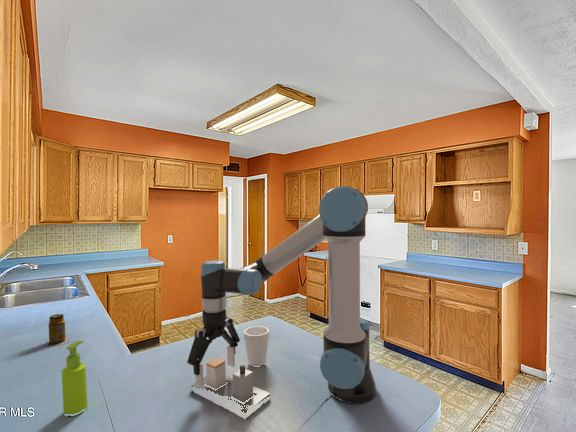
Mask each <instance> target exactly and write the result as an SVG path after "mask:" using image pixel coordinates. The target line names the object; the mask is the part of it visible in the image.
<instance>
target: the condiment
mask: <svg viewBox="0 0 576 432" xmlns="http://www.w3.org/2000/svg"><path fill="white" fill-rule="evenodd" d="M68 343H69V342H68V338H67V335H66V320H65V315H64V314H63V313H57V314H51V315H50V316H49V321H48V340H47V341H46V344H47V348H51V347H56V346H60V345H63V344H64V345H65V344H68Z"/></svg>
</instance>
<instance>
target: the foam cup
mask: <svg viewBox="0 0 576 432" xmlns="http://www.w3.org/2000/svg"><path fill="white" fill-rule="evenodd" d="M269 339H270V329H269V328H268V327H266V326H263V325H255V326H249V327H247V328H246V329H244V331H243V340H244V342H245V343H244V344H245V348H246V349H245V351H246V356H247V361H248V365H249V364H250V365H252V366H262V365H264V364H265V363H266V364H267V357H268V356H267V355H268V346H269V345H268V344H269ZM250 365H249V366H250ZM262 367H263V366H262Z"/></svg>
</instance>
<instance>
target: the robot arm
mask: <svg viewBox="0 0 576 432" xmlns="http://www.w3.org/2000/svg"><path fill="white" fill-rule="evenodd" d="M368 211H369V204H368V200H367V197H366V196H365V195H364V194H363V193H362V192H361V191H360V190H358V189H355V188H354V187H351V186H347V185H346V186H345V185H342V186H336V187H333V188H331V189H330V190H328V191H327V192H326V193H324V195H323V196H322V197H321V200H320V202H319V205H318V213H319V214H318V215H317V216H316V217H314V218H312V220H310V221H309V222H307V223H306V224H304V225H303V226H302V227H301V228H299V229H298V230H297V231H295V232H294V233H292V234H291V235H290V236H288V237H287V238H285V239H284V240H282V241H281V242H280V243H278V244H277V245H276V246H274V247H272V249H269V251H268V252H266V253H265V254H263V255H262V256H261V257H259V258H258V259H256V260H255V261H253V262H252V263H249V264H247V265H245V266H243V267H241V268H230V267H229V268H228V267H226V263H225V261H223V260H208V261H205V262H203V263H202V264H201V266H200V268H201V269H200V280H201V281H200V282H201V307H202V311H201V313H202V315H201V318H202V323H203V328H202V329H196V330H194V338H193V343H192V344H191V345H192V346H191V348H190V351H189V355H188V358H187V364H189V365H190V366H192V367H193V368H192V369H193V374H194V375H195V383H197V384H199V385H201V386H202V385H203V378H204V364H203V363H202V361H203V359H204V356H205V355H206V352H207V350H208V348H209V346H210V344H212V343H213V340H216V339H218V338H220V337H221V338H223V339H224V341H226V343H227V344H228V345H227V346H226V350H227V351H226V352H227V354H226V355H227V359H226V361H227V365H228V366H231V367H235V366H236V364H235V363H236V361H235V355H236V348H237V347H238V345H239V344H238V343H240V342H241V339H240V336H239V334H238V333H237V329H236V328H235V326H234V321H233V320H234V319H233V318H231V317H227V309H226V307H227V296H226V295H227V294H226V293H231V294H242V295H256V294H258V292H260V289H261V287H262V283H264V282H266V281H268V280H269V279H270V278H271V277H273V276H274V275H275V274H277V273H278V272H280V271H281V270H283V269H284V268H285V267H287V266H289V265H290V264H291V263H293V262H294V261H296V260H297V259H298V258H300V257H301V256H303V255H304V254H306V253H307V252H309V251H310V250H312V249H313V248H314V247H316V246H317V245H319V244H320V243H322V242H324V240H326V241H327V242H328V243H327V244H328V245H327V247H328V248H327V249H328V252H327V253H328V255H327V256H328V257H327V258H328V259H327V261H328V325H327V326H326V328H324V330H323V331H322V332H323V335H322V336H323V351H322V354H321V356H320V360H319V361H320V364H319V368H320V372H321V375H322V376H323V378H324V379H325V380H326V381H327V390H328V389H329V390H328V391H329V393H330V392H331V393H332V394H333V395H334V396H335V397H337V398H339V399H341V400H343V401H346V402H351V403H350V404H354V403H357V404H364V403H367V402H369V401H371V400H373V399H374V398H375V396H376V394H377V393H376V392H377V391H376V389H377V387H376V386H377V385H376V381H375V379H374V376H373V372H372V370H371V367H370V365H371V364H370V362H371V361H370V332H371V331H370V330H371V329H370V324H369V322H368V321H367V320H366V319H364V318H362V317H361V307H360V306H361V295H360V294H361V260H360V259H361V256H360V255H361V253H360V251H361V246H360V245H361V242H362V240H363V239H365V237H366V217H367V214H368ZM225 328H226V329H227V330H226V329H225ZM331 393H330V394H331ZM335 397H334V398H335ZM343 401H342V402H343ZM346 402H345V403H346Z"/></svg>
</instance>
